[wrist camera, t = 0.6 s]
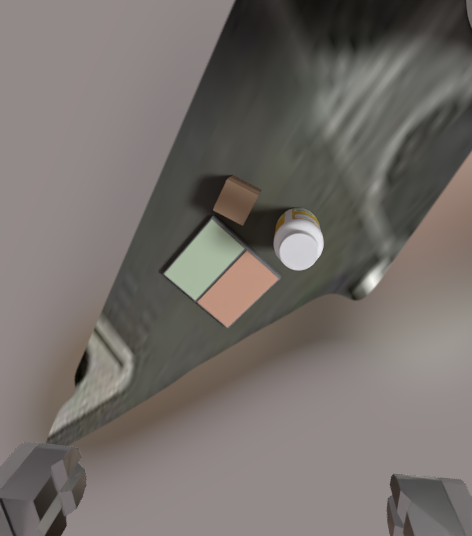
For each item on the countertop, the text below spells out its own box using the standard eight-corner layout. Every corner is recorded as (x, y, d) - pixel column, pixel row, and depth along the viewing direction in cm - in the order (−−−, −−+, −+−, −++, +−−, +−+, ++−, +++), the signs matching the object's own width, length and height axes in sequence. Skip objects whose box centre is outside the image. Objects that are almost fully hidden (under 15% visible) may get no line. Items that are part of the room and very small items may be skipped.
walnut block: (232, 174, 44) (227, 179, 41) (261, 190, 44) (258, 195, 41) (219, 203, 46) (212, 210, 42) (246, 218, 46) (242, 225, 42)
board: (213, 214, 46) (211, 216, 45) (281, 275, 48) (281, 278, 47) (164, 271, 50) (161, 274, 49) (228, 325, 52) (227, 329, 51)
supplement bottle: (286, 254, 47) (284, 284, 38) (269, 217, 45) (263, 239, 36) (325, 238, 45) (334, 265, 36) (309, 200, 44) (313, 217, 35)
